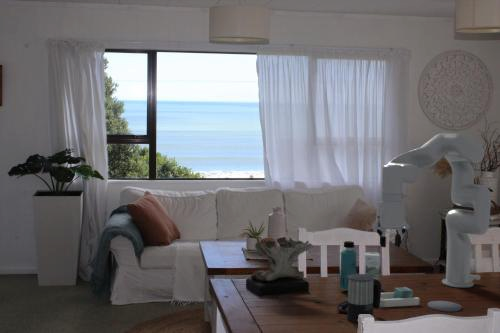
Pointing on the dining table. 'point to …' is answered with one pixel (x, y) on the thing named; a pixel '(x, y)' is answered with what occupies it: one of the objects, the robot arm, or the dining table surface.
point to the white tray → (396, 300)
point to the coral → (279, 269)
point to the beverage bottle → (347, 264)
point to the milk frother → (361, 296)
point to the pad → (444, 306)
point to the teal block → (403, 292)
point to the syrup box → (372, 264)
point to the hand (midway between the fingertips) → (390, 246)
